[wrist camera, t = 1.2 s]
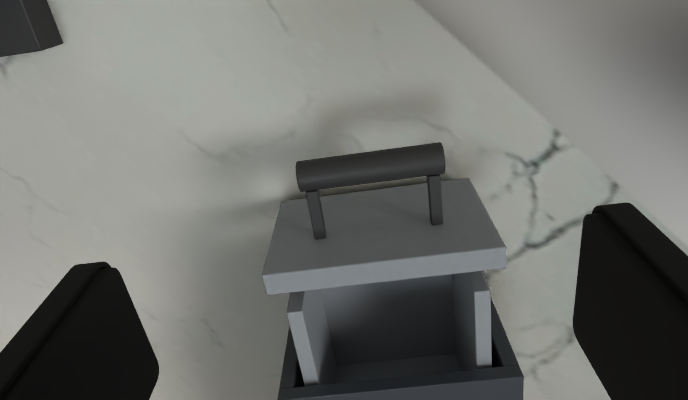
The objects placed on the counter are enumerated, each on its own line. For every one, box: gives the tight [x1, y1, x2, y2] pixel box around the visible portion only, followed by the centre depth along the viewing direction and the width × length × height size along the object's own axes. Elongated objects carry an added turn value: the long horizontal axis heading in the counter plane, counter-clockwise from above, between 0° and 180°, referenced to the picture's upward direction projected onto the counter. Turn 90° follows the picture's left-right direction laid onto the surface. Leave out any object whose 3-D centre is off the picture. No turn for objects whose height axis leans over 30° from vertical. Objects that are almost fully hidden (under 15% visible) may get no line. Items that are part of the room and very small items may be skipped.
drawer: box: [262, 142, 506, 386], centre depth 28 cm, size 18×11×8 cm, turn 8°
